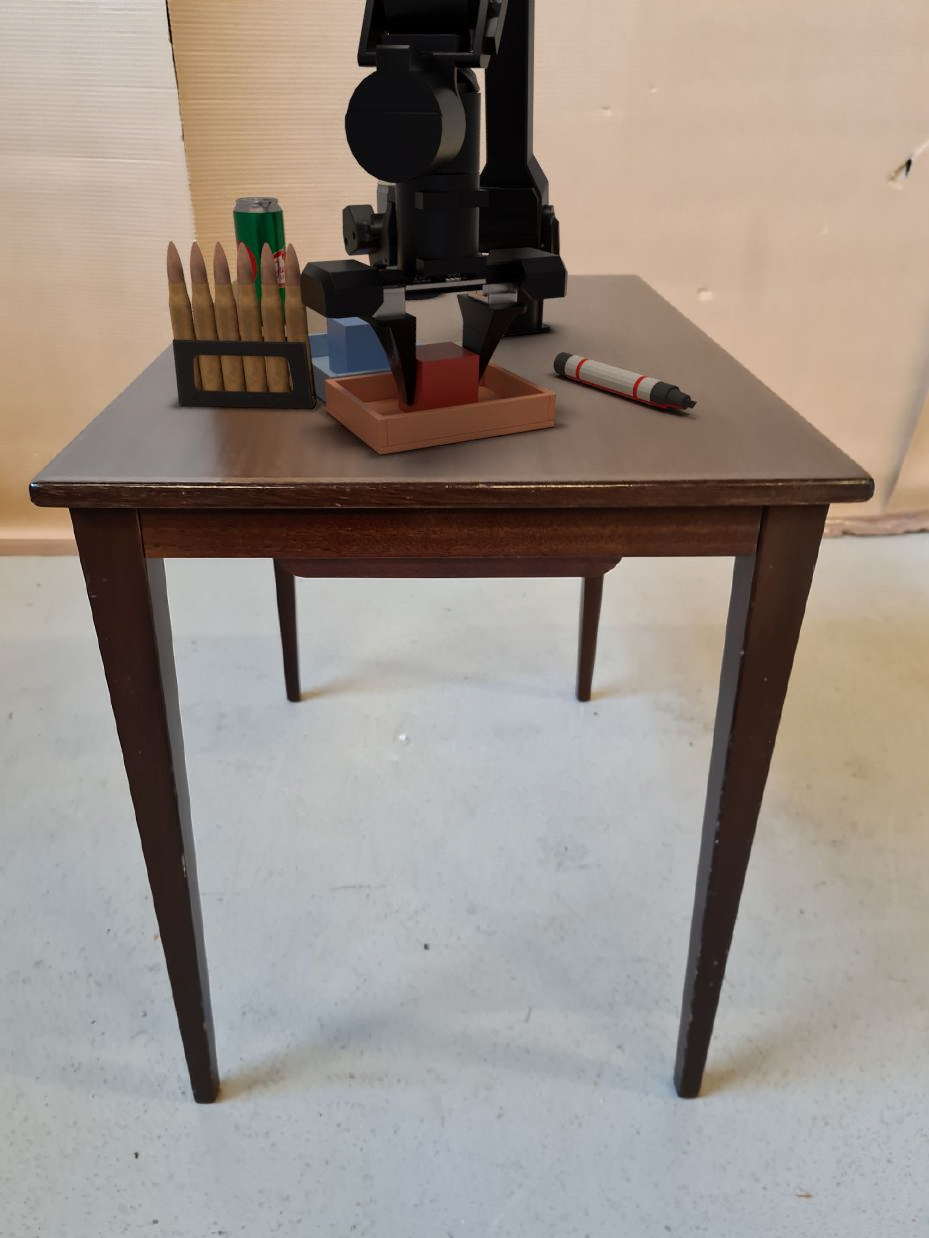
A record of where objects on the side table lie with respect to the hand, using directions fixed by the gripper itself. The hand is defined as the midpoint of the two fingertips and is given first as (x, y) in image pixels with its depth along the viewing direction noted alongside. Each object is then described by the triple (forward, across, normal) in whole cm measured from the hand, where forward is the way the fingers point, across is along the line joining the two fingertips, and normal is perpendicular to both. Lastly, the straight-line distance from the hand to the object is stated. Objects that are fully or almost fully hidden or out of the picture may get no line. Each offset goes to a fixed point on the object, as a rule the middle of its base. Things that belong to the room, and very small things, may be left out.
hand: (438, 400), depth 68 cm
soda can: (+2, +2, -38) cm, 38 cm away
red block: (+1, 0, 0) cm, 1 cm away
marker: (+2, -17, +1) cm, 17 cm away
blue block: (+1, +1, -13) cm, 13 cm away
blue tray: (+1, +1, -13) cm, 13 cm away
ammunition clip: (+2, +12, -10) cm, 16 cm away
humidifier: (+2, -18, -46) cm, 49 cm away
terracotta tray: (+2, 0, 0) cm, 2 cm away
